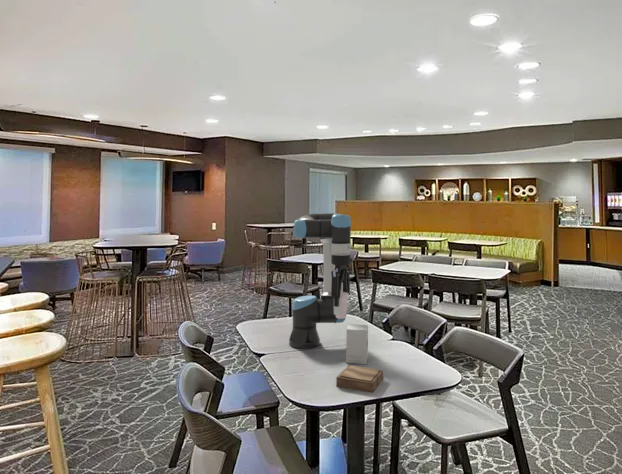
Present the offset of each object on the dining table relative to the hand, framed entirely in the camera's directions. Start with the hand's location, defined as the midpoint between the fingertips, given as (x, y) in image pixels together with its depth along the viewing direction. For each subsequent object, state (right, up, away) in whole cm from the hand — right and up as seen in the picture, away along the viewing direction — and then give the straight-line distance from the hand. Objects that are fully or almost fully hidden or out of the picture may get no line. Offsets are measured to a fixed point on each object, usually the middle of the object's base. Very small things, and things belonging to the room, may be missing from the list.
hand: (340, 312), depth 171 cm
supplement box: (+9, -25, +20) cm, 33 cm away
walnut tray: (+7, -26, -5) cm, 27 cm away
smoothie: (0, -2, 0) cm, 2 cm away
